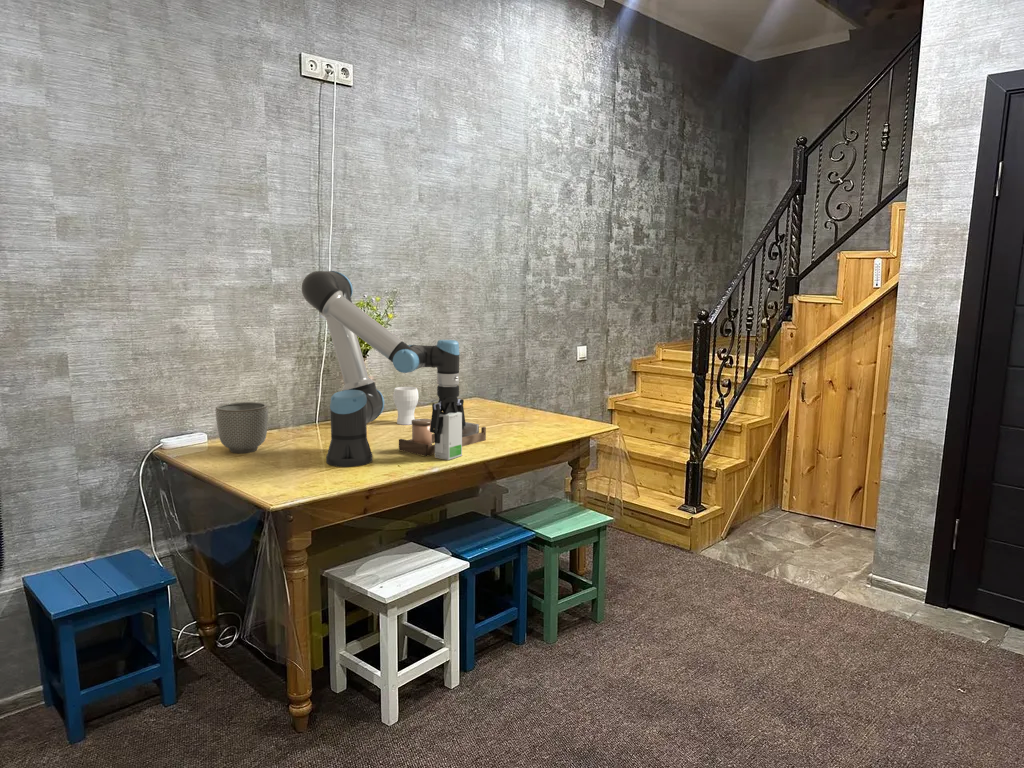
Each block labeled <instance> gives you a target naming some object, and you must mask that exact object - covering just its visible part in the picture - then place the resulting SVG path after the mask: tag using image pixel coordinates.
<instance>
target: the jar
mask: <svg viewBox="0 0 1024 768" xmlns="http://www.w3.org/2000/svg"><path fill="white" fill-rule="evenodd" d="M430 426H431V418H415V419H414V420H412V424H411V439H412V441H414V442H419V443H424V444H428V446H431V445H433V443H432V434H433V433H432V432H430Z"/></svg>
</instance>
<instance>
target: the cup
mask: <svg viewBox="0 0 1024 768" xmlns="http://www.w3.org/2000/svg"><path fill="white" fill-rule="evenodd" d="M392 398H393V399H392V400H393V402H394V406H395V407H396V409H397V410H396V411H397V420H396V424H397V425H401V426H402V425H403V426H405V425H406V426H408V425H412V420H414V419H416V418H415V412H416V411H415V409H416V407H417V405H418V402H419V398H420V397H419V390H418V387H416V386H398V387H394V389H393V396H392Z"/></svg>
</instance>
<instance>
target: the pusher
mask: <svg viewBox="0 0 1024 768" xmlns="http://www.w3.org/2000/svg"><path fill="white" fill-rule="evenodd" d="M465 423H466V425H465V426H463V427H464V429H462V437H466V436H470V435H473V434H477V433H480V424H478V423H473V422H467V421H465Z"/></svg>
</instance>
